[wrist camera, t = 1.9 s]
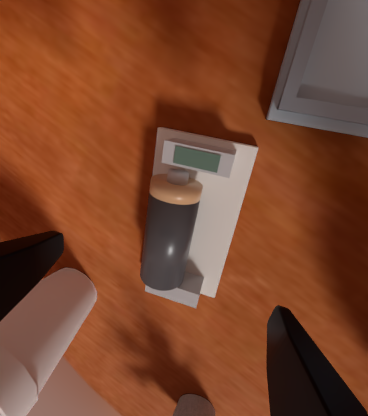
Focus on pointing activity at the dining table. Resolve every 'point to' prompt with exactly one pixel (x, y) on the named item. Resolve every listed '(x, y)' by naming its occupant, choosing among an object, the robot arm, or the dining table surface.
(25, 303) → the foam cup
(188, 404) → the house plant
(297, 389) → the robot arm
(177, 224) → the battery cell
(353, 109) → the two-compartment grey tray
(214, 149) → the checker cradle
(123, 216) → the dining table surface
